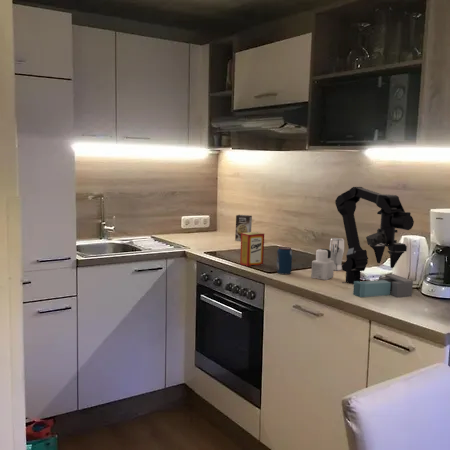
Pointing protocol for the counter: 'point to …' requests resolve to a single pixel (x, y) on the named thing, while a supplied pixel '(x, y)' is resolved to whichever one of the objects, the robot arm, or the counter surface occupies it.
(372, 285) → the teal rectangular block
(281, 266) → the soda can
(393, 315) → the counter surface
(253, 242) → the baking soda box
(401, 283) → the header
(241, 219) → the coffee box
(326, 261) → the container
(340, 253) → the beer glass
